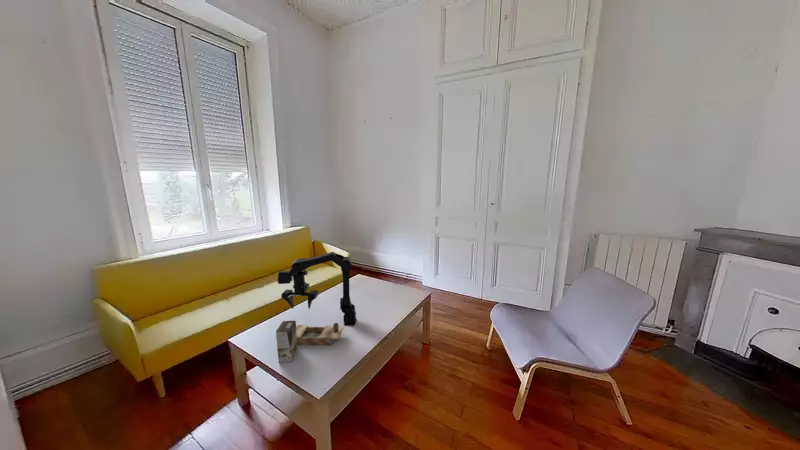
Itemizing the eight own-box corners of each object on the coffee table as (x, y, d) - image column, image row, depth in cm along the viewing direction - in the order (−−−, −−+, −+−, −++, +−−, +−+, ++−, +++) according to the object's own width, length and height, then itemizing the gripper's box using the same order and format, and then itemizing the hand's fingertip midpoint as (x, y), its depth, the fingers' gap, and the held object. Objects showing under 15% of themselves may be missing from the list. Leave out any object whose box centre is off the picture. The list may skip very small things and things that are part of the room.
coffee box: (292, 362, 124) (289, 331, 120) (278, 362, 123) (275, 332, 120) (298, 349, 133) (295, 320, 129) (284, 349, 132) (282, 320, 129)
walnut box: (335, 333, 145) (335, 327, 144) (330, 345, 135) (329, 338, 134) (299, 332, 145) (298, 326, 145) (291, 344, 136) (290, 337, 135)
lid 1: (307, 326, 145) (307, 318, 143) (300, 337, 135) (299, 329, 134) (290, 326, 145) (289, 317, 144) (281, 337, 135) (280, 328, 134)
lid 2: (343, 327, 144) (343, 319, 143) (339, 338, 134) (338, 330, 133) (325, 326, 144) (325, 318, 143) (320, 338, 135) (319, 329, 133)
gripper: (320, 276, 152) (322, 301, 155) (288, 276, 153) (290, 300, 156) (314, 285, 141) (315, 311, 145) (279, 284, 142) (282, 310, 145)
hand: (301, 308), depth 148 cm, fingers open, 9 cm apart
